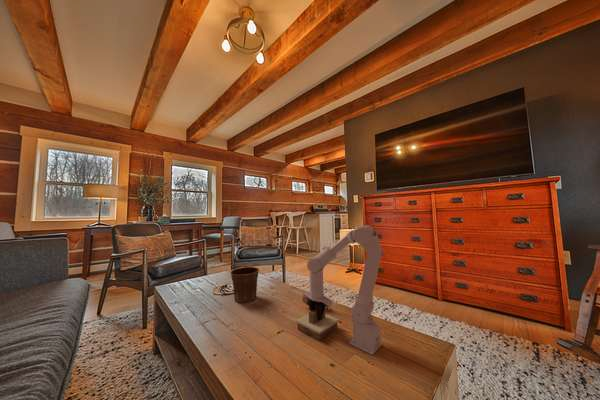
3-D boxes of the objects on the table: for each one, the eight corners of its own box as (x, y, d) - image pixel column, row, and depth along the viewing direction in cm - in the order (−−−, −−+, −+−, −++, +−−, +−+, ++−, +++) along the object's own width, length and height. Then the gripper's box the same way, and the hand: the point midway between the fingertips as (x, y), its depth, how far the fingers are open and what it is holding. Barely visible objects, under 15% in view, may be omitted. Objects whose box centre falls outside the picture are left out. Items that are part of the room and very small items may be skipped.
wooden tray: (337, 328, 90) (337, 321, 90) (319, 341, 82) (319, 333, 82) (315, 318, 99) (315, 312, 99) (297, 329, 90) (297, 322, 90)
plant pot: (224, 303, 117) (224, 273, 118) (240, 292, 133) (240, 266, 134) (250, 306, 113) (250, 275, 114) (264, 294, 128) (263, 267, 129)
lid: (338, 321, 90) (338, 309, 91) (319, 334, 81) (319, 321, 81) (315, 311, 99) (315, 300, 100) (295, 322, 90) (295, 310, 90)
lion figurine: (304, 314, 103) (304, 295, 103) (301, 309, 108) (300, 291, 108) (331, 309, 107) (331, 291, 108) (327, 305, 112) (326, 288, 113)
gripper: (336, 287, 89) (337, 320, 88) (310, 279, 99) (310, 309, 98) (325, 292, 84) (326, 327, 83) (299, 283, 94) (300, 315, 93)
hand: (317, 318), depth 90 cm, fingers closed on lid, 2 cm apart
